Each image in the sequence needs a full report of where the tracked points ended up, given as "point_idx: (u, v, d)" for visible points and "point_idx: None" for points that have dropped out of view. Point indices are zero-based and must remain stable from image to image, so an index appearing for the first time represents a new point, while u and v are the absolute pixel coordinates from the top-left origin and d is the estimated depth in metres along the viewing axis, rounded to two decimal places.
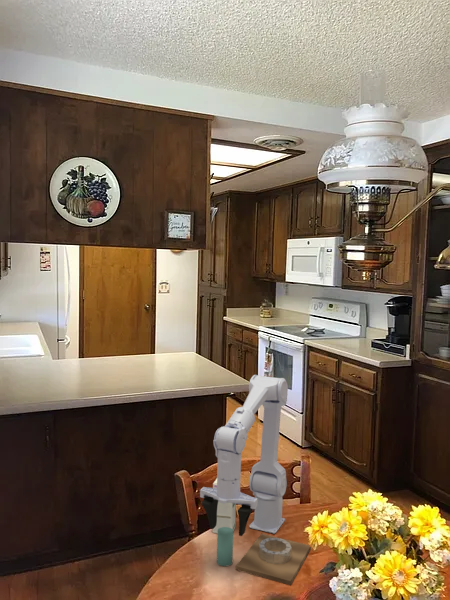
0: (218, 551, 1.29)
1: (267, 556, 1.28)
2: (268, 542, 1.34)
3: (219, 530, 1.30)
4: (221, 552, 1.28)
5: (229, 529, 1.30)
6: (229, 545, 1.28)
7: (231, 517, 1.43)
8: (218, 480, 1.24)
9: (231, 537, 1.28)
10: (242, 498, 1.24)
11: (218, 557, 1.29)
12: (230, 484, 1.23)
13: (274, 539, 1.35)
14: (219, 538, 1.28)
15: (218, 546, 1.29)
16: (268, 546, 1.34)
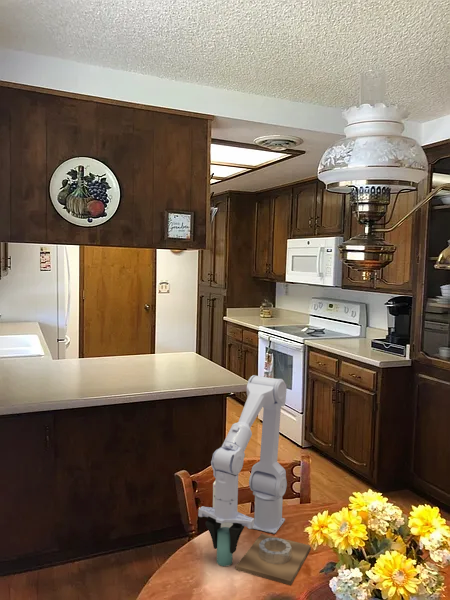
0: (218, 551, 1.29)
1: (267, 556, 1.28)
2: (268, 542, 1.34)
3: (219, 530, 1.30)
4: (221, 552, 1.28)
5: None
6: (229, 545, 1.28)
7: None
8: (216, 500, 1.28)
9: None
10: (239, 518, 1.28)
11: (218, 557, 1.29)
12: (227, 504, 1.26)
13: (274, 539, 1.35)
14: (219, 538, 1.28)
15: (218, 546, 1.29)
16: (268, 546, 1.34)
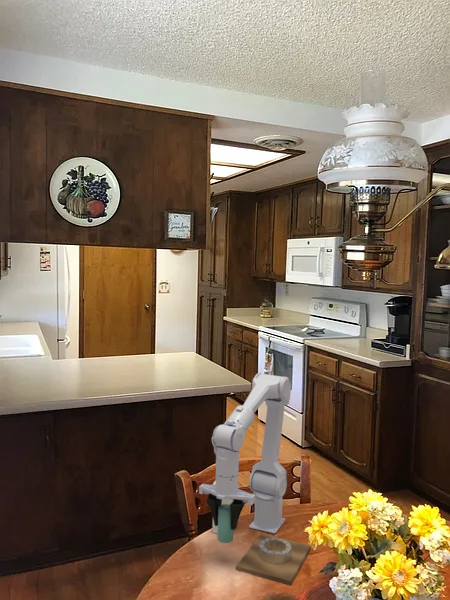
0: (219, 528, 1.28)
1: (267, 556, 1.28)
2: (268, 542, 1.34)
3: (220, 507, 1.29)
4: (222, 529, 1.28)
5: None
6: (230, 521, 1.28)
7: None
8: (216, 477, 1.28)
9: None
10: (240, 494, 1.27)
11: (219, 534, 1.28)
12: (228, 481, 1.26)
13: (274, 539, 1.35)
14: (220, 515, 1.28)
15: (219, 523, 1.28)
16: (268, 546, 1.34)
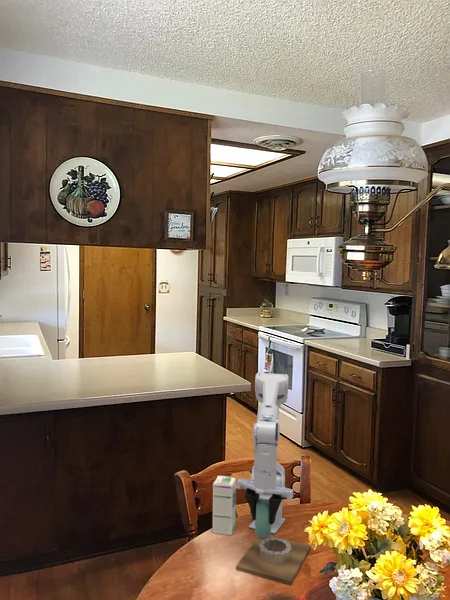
0: (257, 522, 1.30)
1: (267, 556, 1.28)
2: (268, 542, 1.34)
3: (258, 502, 1.31)
4: (260, 523, 1.29)
5: (267, 501, 1.31)
6: (268, 516, 1.29)
7: (231, 517, 1.43)
8: (255, 472, 1.29)
9: None
10: (278, 489, 1.29)
11: (257, 528, 1.30)
12: (267, 475, 1.28)
13: (274, 539, 1.35)
14: (258, 509, 1.29)
15: (257, 517, 1.30)
16: (268, 546, 1.34)
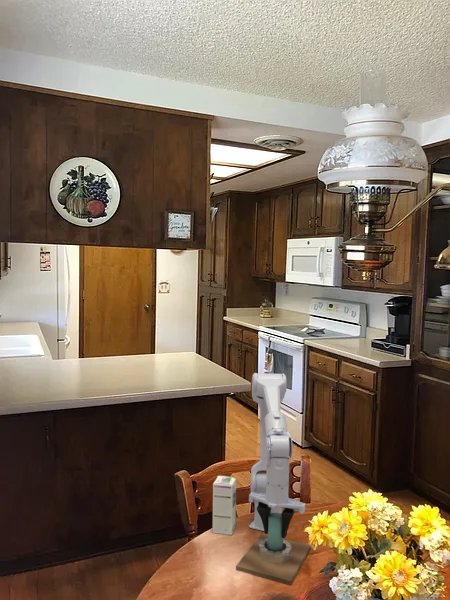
0: (269, 536, 1.30)
1: (267, 556, 1.28)
2: None
3: (270, 515, 1.31)
4: (272, 537, 1.30)
5: (279, 514, 1.32)
6: (280, 530, 1.30)
7: (231, 517, 1.43)
8: (267, 485, 1.30)
9: None
10: (290, 503, 1.29)
11: (269, 542, 1.30)
12: (279, 489, 1.28)
13: None
14: (270, 523, 1.30)
15: (269, 531, 1.30)
16: None
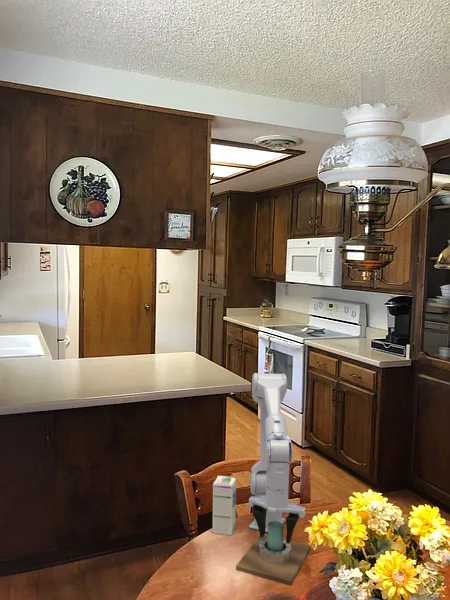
0: (269, 545, 1.30)
1: (267, 556, 1.28)
2: None
3: (270, 524, 1.31)
4: (272, 546, 1.30)
5: (279, 523, 1.32)
6: (280, 538, 1.30)
7: (231, 517, 1.43)
8: (267, 490, 1.30)
9: (282, 531, 1.30)
10: (290, 507, 1.29)
11: None
12: (279, 494, 1.28)
13: None
14: (270, 532, 1.30)
15: (269, 540, 1.30)
16: None
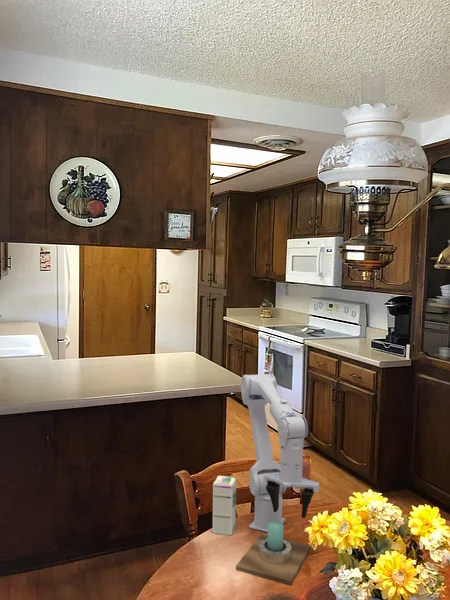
0: (269, 545, 1.30)
1: (267, 556, 1.28)
2: None
3: (269, 524, 1.31)
4: (272, 546, 1.30)
5: (279, 523, 1.32)
6: (280, 538, 1.30)
7: (231, 517, 1.43)
8: (282, 465, 1.33)
9: (282, 531, 1.30)
10: (304, 482, 1.33)
11: None
12: (294, 469, 1.32)
13: None
14: (270, 532, 1.30)
15: (269, 540, 1.30)
16: None
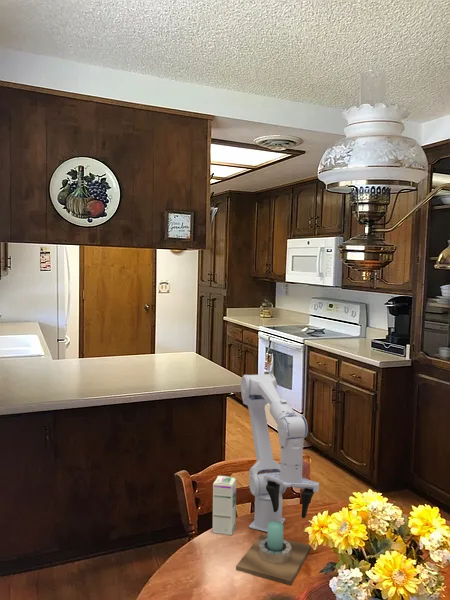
0: (269, 545, 1.30)
1: (267, 556, 1.28)
2: None
3: (269, 524, 1.31)
4: (272, 546, 1.30)
5: (279, 523, 1.32)
6: (280, 538, 1.30)
7: (231, 517, 1.43)
8: (282, 465, 1.33)
9: (281, 531, 1.30)
10: (304, 482, 1.33)
11: None
12: (294, 469, 1.32)
13: None
14: (270, 532, 1.30)
15: (269, 540, 1.30)
16: None
